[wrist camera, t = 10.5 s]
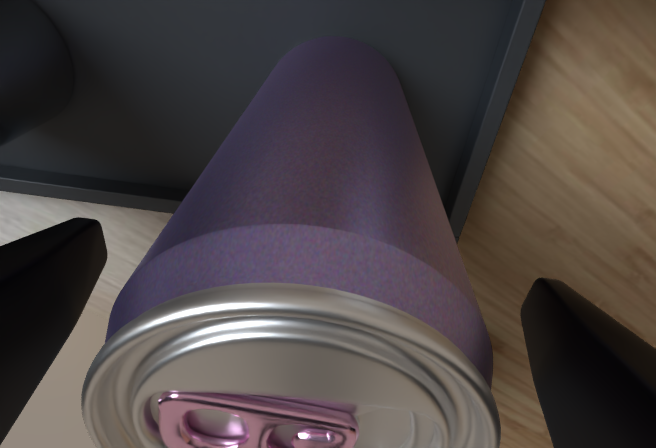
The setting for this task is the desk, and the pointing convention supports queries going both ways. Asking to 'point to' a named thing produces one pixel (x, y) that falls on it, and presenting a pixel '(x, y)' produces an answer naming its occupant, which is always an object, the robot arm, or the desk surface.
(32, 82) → the can
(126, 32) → the tray
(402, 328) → the beverage can
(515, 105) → the desk surface
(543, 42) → the desk surface
